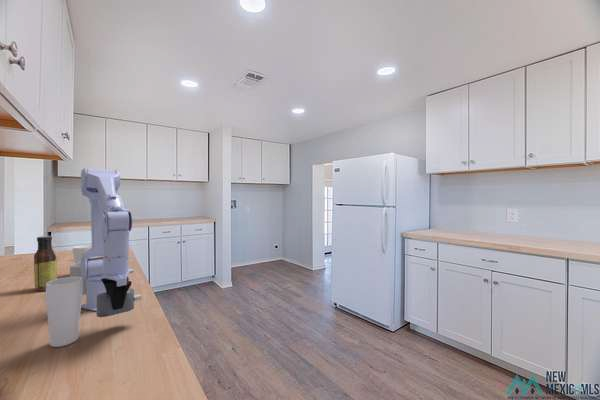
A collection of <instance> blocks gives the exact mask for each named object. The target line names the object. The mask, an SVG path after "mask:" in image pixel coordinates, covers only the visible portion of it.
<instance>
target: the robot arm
mask: <svg viewBox="0 0 600 400" xmlns="http://www.w3.org/2000/svg"><path fill="white" fill-rule="evenodd" d="M120 186H121V173H120V172H119V171H118V170H116V169H115V170H111V169H99V168H98V169H94V168H87V167H84V168H83V169H81V172H80V189H81V195H82V196H85V197H86V198H88V201H89V204H90V223H91V224H90V227H91V228H90V229H91V230H90V231H91V232H90V233H91V244H92V248H91V249H89V250H88V251H87V252H85V253H84V254H83V255H82V257H81V277H82V278H83V279H86V280H87V292H86V294H85V295H86V303H84V304H83V303H82V304H81V309H86V310H90V311H94V312H97V295H99V294H101V293H105V292H109V294H110V298H111V304H112V308H113V310H117V309H121V308H123V305H124V302H125V297H126V294H127V291H128V289H129V288H131V286H132V282H133V281H131V280H129V281H127V276H128V277H129V275H130V274H133V273H135V272H134V271H135V270H134V269H133V268H130V264H129V263H130V257H129V256H130V232H131V231H132V228H133V216H132V211H131V210H129V209H126V208H125V204H124V202H123V198H122V196H120V195H118V194H117V192H118V190H119V188H120ZM95 256H98V258H91V259H89V258H90V257H95Z"/></svg>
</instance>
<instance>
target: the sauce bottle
mask: <svg viewBox="0 0 600 400" xmlns="http://www.w3.org/2000/svg"><path fill="white" fill-rule="evenodd" d="M52 240H53V237H52V236H51V235H43V236H42V235H41V236H38V237H36V242H37V250H36V251H35V253H34V255H33V271H34V276H33V277H34V287H35V288H34V289H35V291H36V292H37V291H38V292H46V283H47V282H49V281H52V280H55V279H58V267H57V254H56V253H55V251H54V249H53V246H52Z"/></svg>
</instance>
